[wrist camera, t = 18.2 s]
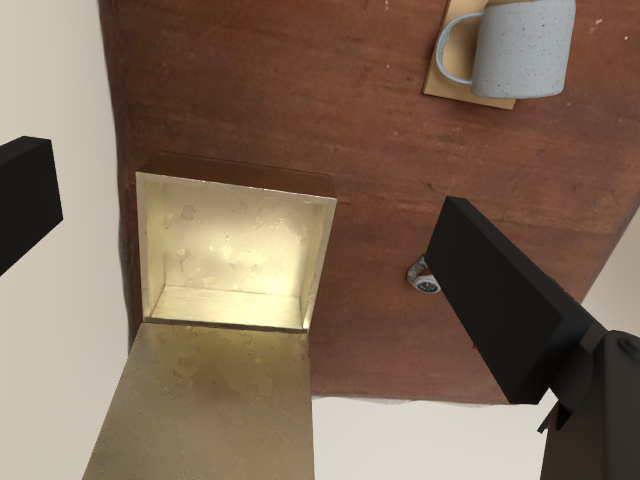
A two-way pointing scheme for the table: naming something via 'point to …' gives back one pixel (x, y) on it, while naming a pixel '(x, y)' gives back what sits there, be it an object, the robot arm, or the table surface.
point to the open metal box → (231, 242)
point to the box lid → (209, 408)
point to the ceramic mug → (517, 48)
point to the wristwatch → (422, 277)
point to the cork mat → (459, 56)
